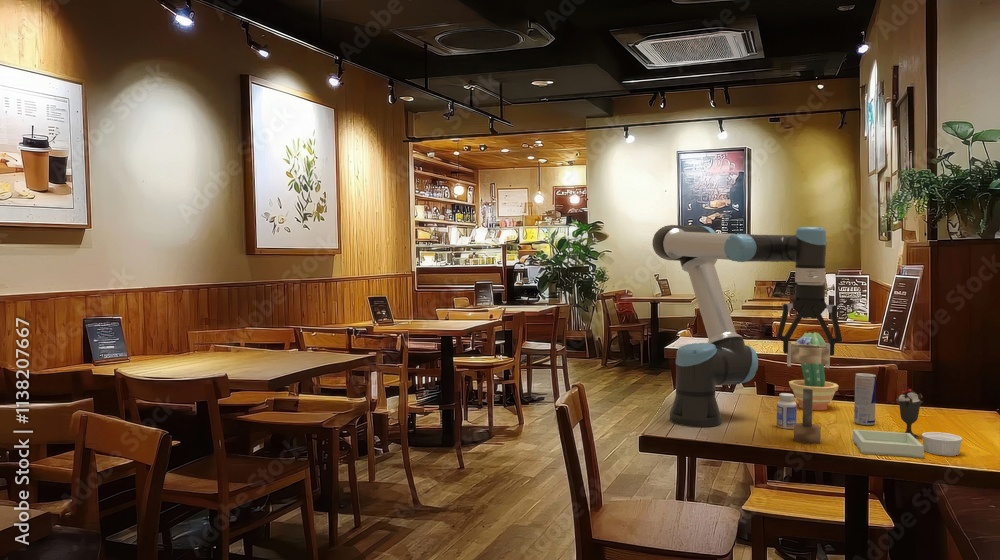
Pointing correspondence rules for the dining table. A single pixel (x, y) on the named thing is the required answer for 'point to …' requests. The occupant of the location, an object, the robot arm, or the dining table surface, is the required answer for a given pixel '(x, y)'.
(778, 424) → the pill bottle
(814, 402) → the potted cactus
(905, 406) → the sundae
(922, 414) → the dining table surface
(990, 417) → the dining table surface
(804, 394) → the stake
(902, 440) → the tray
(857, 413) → the beverage can
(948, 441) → the ramekin
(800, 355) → the ring
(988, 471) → the dining table surface
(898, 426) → the dining table surface
